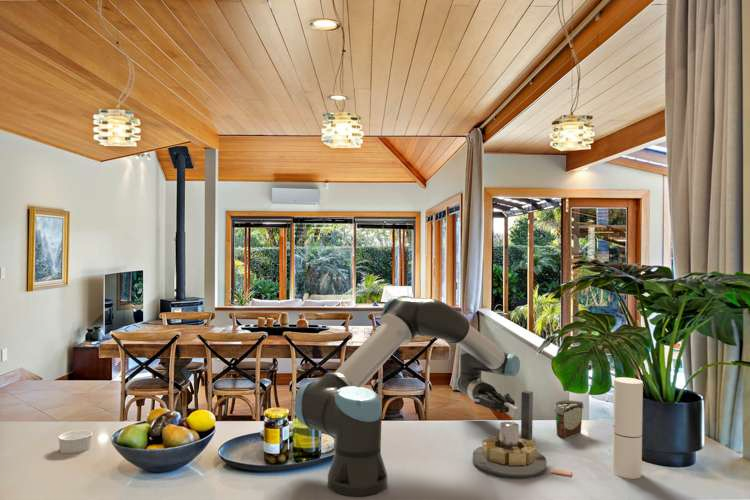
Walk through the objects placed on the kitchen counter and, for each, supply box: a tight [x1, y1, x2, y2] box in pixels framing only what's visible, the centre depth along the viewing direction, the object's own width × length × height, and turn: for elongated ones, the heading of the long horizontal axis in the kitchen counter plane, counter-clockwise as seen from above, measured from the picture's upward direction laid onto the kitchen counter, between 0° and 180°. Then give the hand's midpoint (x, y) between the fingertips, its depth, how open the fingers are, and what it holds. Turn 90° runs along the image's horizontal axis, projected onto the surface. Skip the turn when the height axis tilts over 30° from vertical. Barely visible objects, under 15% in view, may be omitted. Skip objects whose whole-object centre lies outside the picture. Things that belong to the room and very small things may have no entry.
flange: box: [472, 421, 548, 480], centre depth 156 cm, size 20×20×11 cm
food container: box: [552, 399, 584, 440], centre depth 182 cm, size 12×6×10 cm, turn 130°
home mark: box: [550, 468, 573, 477], centre depth 150 cm, size 5×2×1 cm, turn 65°
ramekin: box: [57, 429, 94, 455], centre depth 164 cm, size 9×9×4 cm
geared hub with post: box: [481, 390, 538, 465], centre depth 158 cm, size 19×14×16 cm
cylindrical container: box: [611, 376, 644, 480], centre depth 151 cm, size 7×7×25 cm
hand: (516, 412), depth 171 cm, fingers closed
